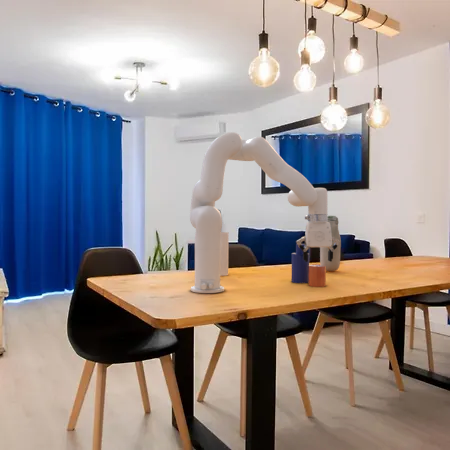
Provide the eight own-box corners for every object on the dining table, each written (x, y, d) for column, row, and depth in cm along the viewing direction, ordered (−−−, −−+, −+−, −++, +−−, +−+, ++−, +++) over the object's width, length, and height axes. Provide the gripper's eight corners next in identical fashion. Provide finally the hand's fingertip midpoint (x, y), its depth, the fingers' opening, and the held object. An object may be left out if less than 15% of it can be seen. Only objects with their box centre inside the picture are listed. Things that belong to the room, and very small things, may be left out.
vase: (230, 275, 204) (230, 232, 203) (215, 275, 201) (215, 232, 201) (222, 272, 214) (222, 231, 214) (208, 272, 212) (208, 231, 212)
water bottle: (310, 283, 181) (310, 244, 181) (293, 283, 181) (293, 244, 181) (306, 280, 189) (307, 243, 188) (290, 280, 188) (290, 243, 188)
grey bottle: (319, 272, 216) (319, 215, 215) (321, 269, 226) (321, 215, 225) (339, 273, 213) (340, 215, 212) (340, 270, 223) (341, 215, 222)
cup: (327, 286, 173) (327, 266, 173) (310, 286, 173) (310, 266, 172) (323, 284, 180) (323, 264, 179) (306, 284, 179) (307, 264, 179)
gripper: (298, 219, 171) (298, 262, 172) (341, 218, 172) (342, 262, 172) (294, 218, 179) (294, 260, 179) (336, 218, 179) (336, 260, 180)
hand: (318, 261), depth 176 cm, fingers open, 9 cm apart
